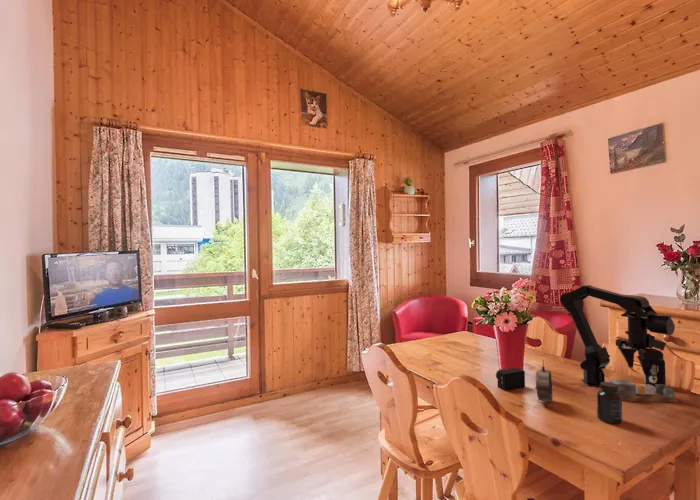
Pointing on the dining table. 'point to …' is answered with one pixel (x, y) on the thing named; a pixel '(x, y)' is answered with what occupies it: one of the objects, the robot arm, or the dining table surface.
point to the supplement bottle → (609, 403)
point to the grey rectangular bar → (644, 389)
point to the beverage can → (656, 374)
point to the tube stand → (661, 394)
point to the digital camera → (511, 379)
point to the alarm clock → (544, 385)
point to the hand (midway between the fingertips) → (638, 370)
